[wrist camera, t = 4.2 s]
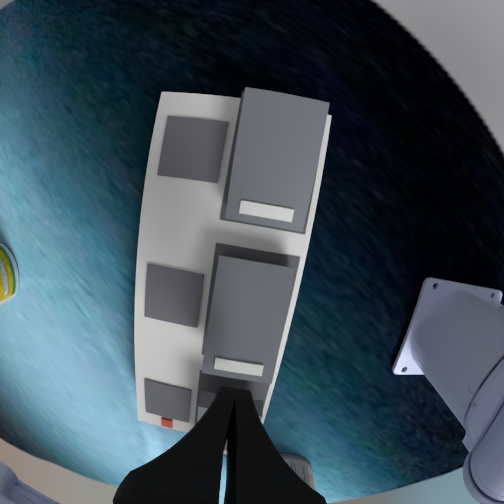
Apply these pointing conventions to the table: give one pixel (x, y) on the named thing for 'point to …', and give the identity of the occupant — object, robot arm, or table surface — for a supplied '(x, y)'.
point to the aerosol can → (300, 467)
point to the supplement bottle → (8, 275)
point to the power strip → (196, 254)
